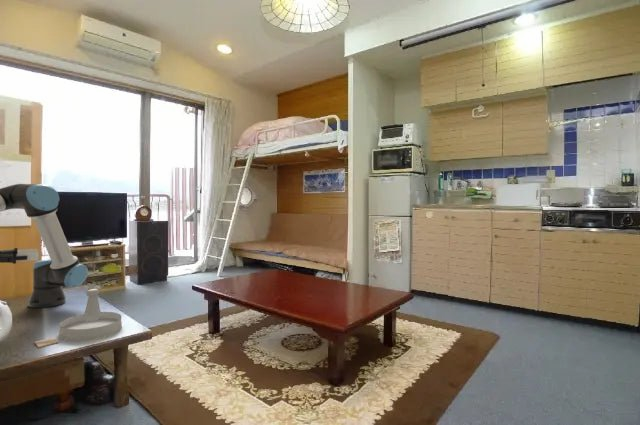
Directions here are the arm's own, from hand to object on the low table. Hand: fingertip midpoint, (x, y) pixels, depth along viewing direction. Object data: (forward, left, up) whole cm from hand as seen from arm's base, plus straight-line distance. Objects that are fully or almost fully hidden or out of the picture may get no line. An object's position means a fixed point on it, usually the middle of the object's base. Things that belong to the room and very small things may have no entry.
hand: (38, 254), depth 140 cm
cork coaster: (+17, +3, -32) cm, 36 cm away
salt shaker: (+11, +18, -28) cm, 35 cm away
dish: (+11, +18, -33) cm, 39 cm away
